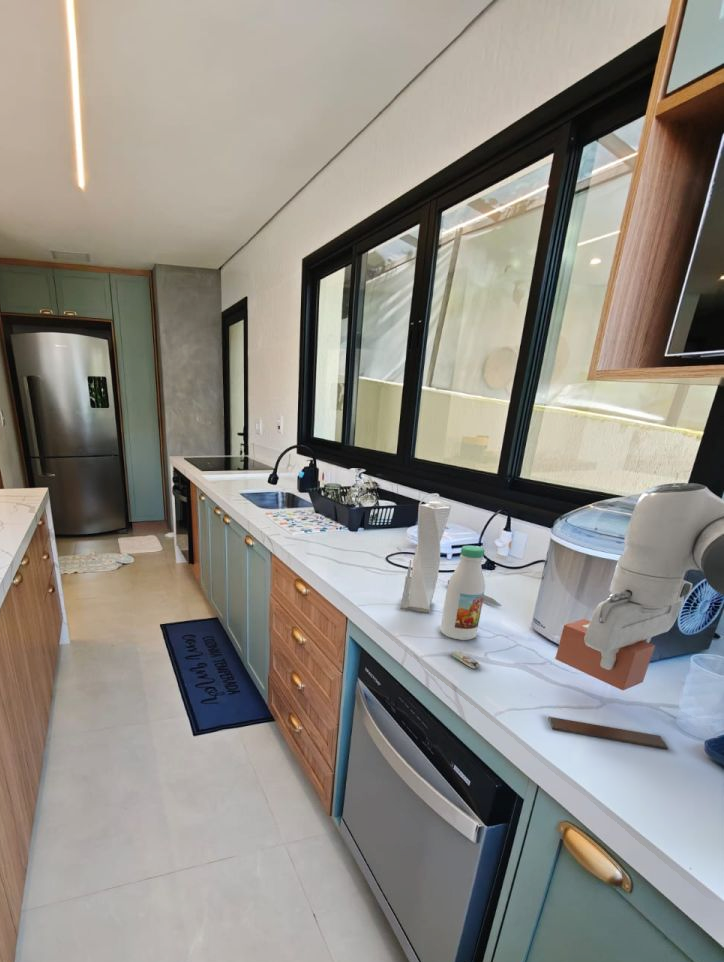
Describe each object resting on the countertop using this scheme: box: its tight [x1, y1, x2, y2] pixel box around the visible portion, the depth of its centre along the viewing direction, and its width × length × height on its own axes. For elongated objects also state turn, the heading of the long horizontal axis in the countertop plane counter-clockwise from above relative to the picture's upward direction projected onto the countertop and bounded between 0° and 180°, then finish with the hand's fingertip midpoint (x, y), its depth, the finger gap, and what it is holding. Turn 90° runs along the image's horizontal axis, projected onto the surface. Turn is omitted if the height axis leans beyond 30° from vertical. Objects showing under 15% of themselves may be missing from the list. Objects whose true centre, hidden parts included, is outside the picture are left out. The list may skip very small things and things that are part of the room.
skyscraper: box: [400, 493, 452, 614], centre depth 123 cm, size 8×8×28 cm
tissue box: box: [554, 618, 656, 691], centre depth 87 cm, size 6×12×7 cm, turn 28°
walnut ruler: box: [548, 716, 669, 750], centre depth 80 cm, size 16×3×1 cm, turn 74°
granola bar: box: [449, 650, 482, 669], centre depth 101 cm, size 7×2×1 cm, turn 25°
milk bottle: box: [440, 545, 486, 641], centre depth 110 cm, size 8×8×20 cm
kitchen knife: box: [447, 579, 502, 607], centre depth 135 cm, size 18×1×2 cm, turn 27°
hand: (619, 663), depth 85 cm, fingers closed on tissue box, 6 cm apart
